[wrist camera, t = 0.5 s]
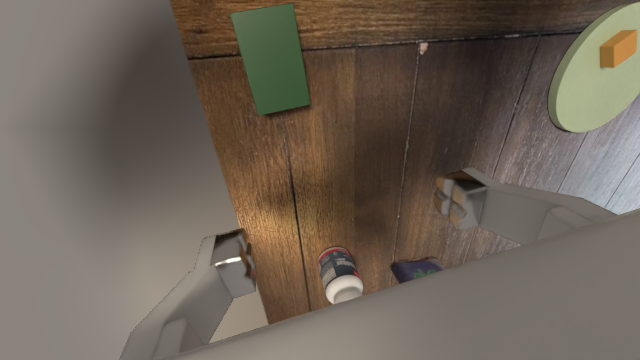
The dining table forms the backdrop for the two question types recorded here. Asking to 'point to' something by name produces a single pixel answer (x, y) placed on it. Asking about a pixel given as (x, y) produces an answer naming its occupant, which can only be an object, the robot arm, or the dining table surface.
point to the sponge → (272, 57)
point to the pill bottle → (339, 275)
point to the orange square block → (618, 48)
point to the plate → (595, 75)
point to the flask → (415, 268)
